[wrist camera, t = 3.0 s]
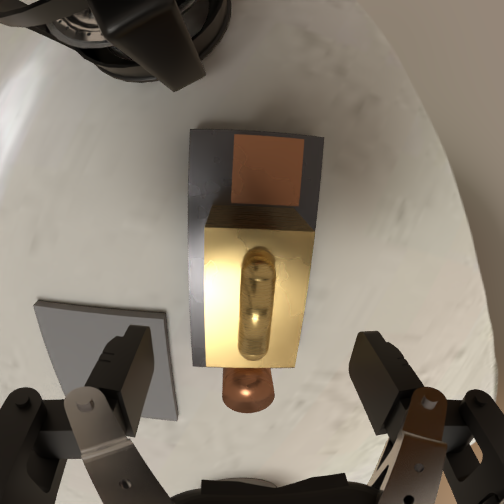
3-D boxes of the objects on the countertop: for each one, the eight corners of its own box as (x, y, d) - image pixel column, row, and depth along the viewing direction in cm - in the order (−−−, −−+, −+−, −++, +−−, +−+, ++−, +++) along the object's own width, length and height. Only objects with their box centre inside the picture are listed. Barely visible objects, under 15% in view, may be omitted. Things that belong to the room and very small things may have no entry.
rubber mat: (38, 300, 20) (33, 305, 19) (165, 313, 21) (163, 319, 20) (71, 398, 23) (68, 403, 23) (178, 414, 24) (177, 421, 24)
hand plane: (194, 130, 17) (168, 122, 10) (314, 137, 17) (365, 136, 10) (195, 348, 22) (184, 427, 15) (290, 350, 22) (309, 427, 15)
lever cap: (212, 204, 16) (201, 235, 11) (294, 208, 16) (322, 240, 11) (211, 318, 19) (204, 381, 13) (282, 320, 19) (298, 381, 14)
